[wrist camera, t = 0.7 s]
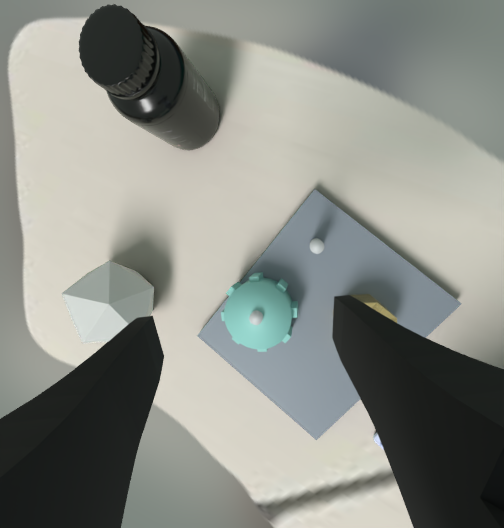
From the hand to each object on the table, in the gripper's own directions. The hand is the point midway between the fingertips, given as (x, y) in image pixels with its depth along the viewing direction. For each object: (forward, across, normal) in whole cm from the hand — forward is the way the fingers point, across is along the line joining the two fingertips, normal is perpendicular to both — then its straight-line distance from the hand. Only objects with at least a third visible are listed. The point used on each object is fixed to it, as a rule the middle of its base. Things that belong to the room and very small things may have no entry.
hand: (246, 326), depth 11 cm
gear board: (+15, -7, +11) cm, 19 cm away
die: (+20, +13, +9) cm, 26 cm away
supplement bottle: (+24, +4, -9) cm, 26 cm away
